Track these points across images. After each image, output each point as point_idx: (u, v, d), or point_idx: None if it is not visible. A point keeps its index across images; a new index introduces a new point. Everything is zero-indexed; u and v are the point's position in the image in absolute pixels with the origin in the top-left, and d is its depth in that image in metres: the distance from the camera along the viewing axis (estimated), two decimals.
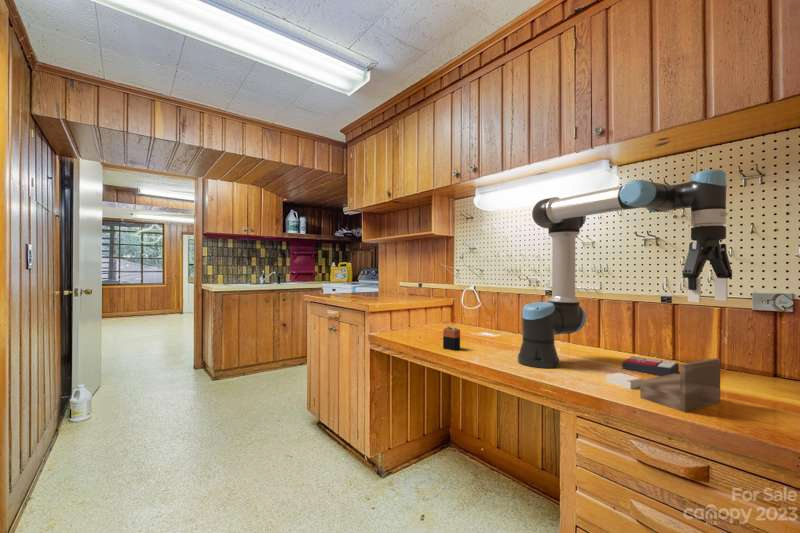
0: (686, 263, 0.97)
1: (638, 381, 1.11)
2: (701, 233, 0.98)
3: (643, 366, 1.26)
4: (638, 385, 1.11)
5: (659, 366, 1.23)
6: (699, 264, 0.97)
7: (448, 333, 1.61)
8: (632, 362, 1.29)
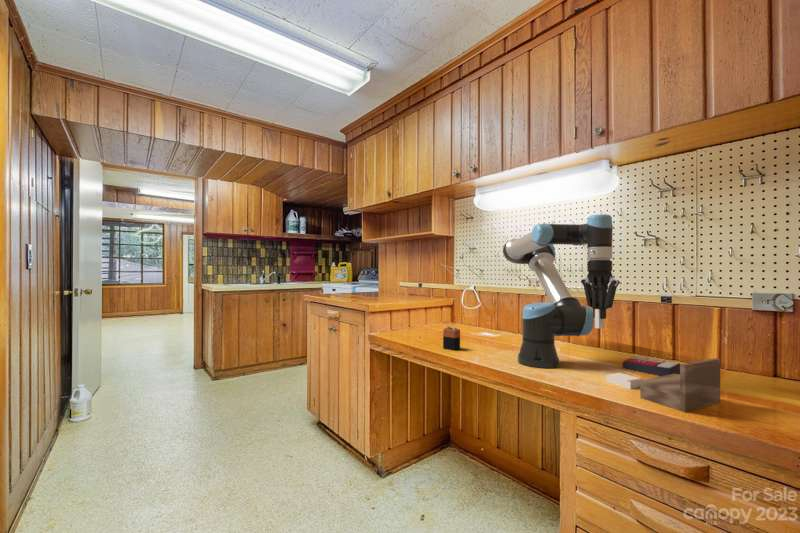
0: None
1: (638, 381, 1.11)
2: None
3: (643, 366, 1.27)
4: (638, 385, 1.11)
5: (658, 366, 1.23)
6: None
7: (448, 333, 1.61)
8: (632, 362, 1.30)
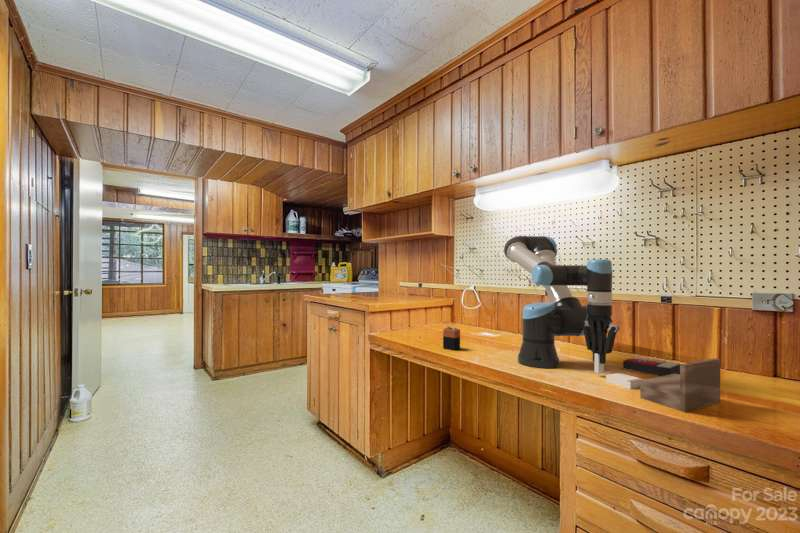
0: None
1: (638, 381, 1.11)
2: None
3: (643, 366, 1.27)
4: (638, 385, 1.11)
5: (658, 366, 1.24)
6: None
7: (448, 333, 1.61)
8: (632, 361, 1.30)
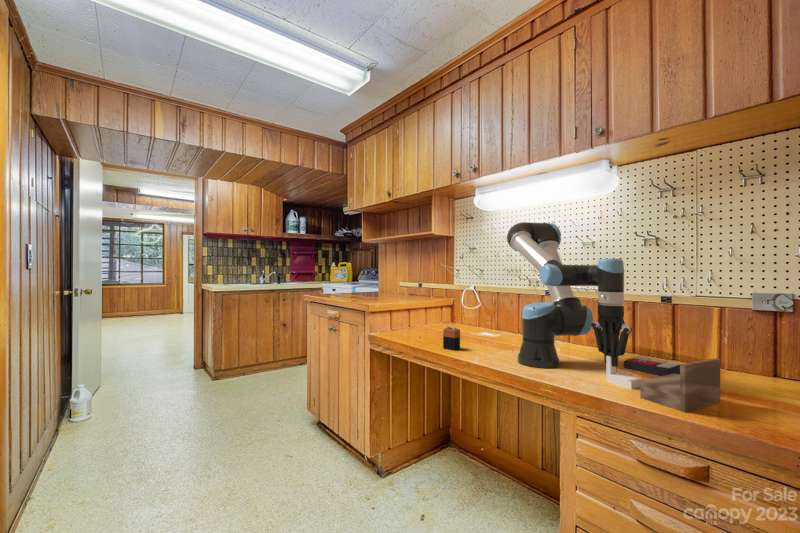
0: None
1: (639, 381, 1.11)
2: None
3: (642, 365, 1.27)
4: (639, 385, 1.11)
5: (658, 366, 1.24)
6: None
7: (448, 333, 1.61)
8: (633, 361, 1.31)
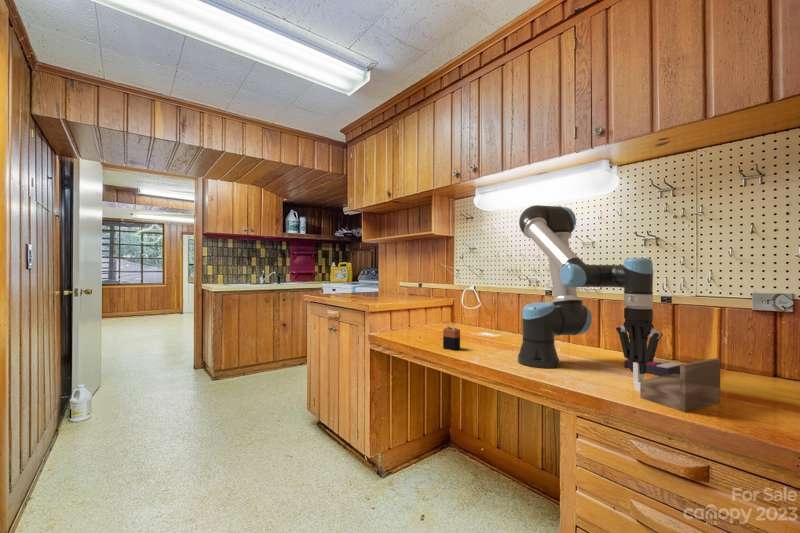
0: None
1: None
2: None
3: None
4: None
5: (657, 366, 1.24)
6: None
7: (448, 333, 1.61)
8: None
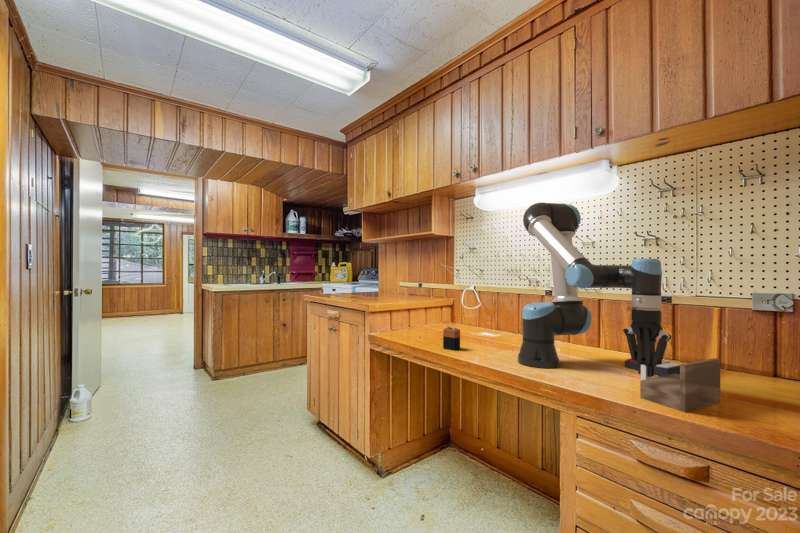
0: None
1: None
2: None
3: None
4: None
5: (657, 366, 1.24)
6: None
7: (448, 333, 1.61)
8: (633, 361, 1.31)
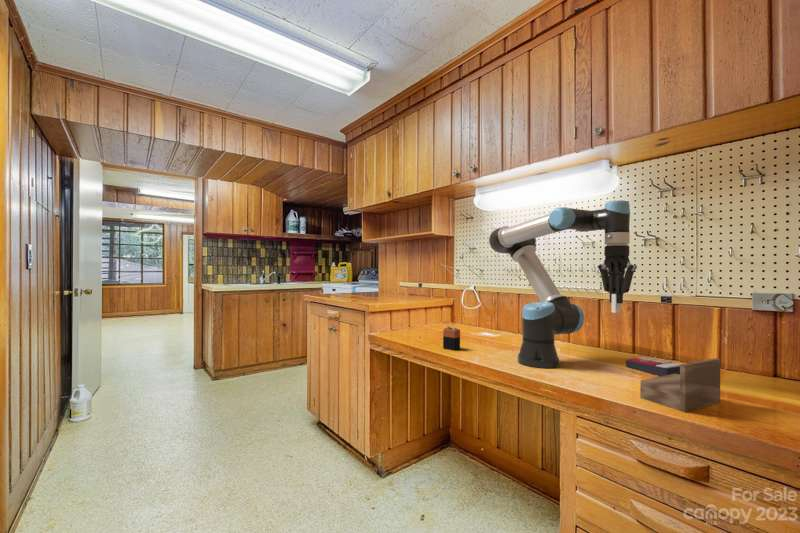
0: None
1: None
2: None
3: (643, 365, 1.28)
4: None
5: (657, 366, 1.24)
6: None
7: (448, 333, 1.61)
8: (634, 361, 1.31)
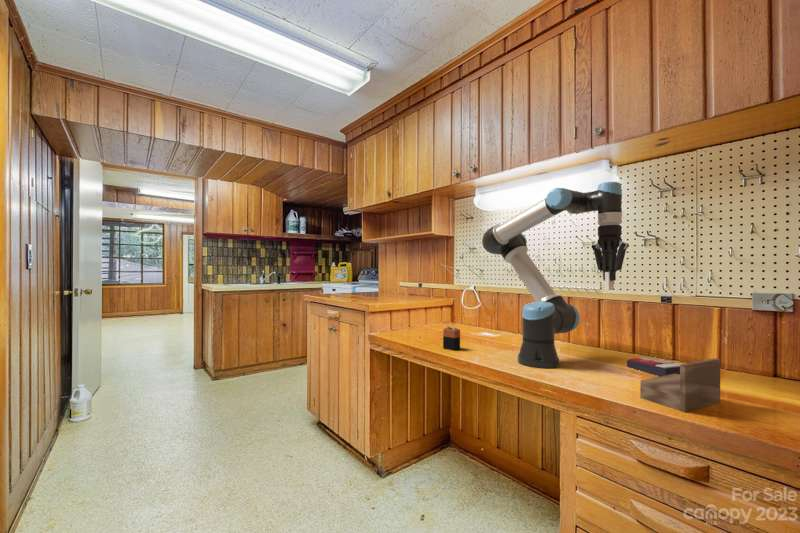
0: None
1: None
2: None
3: (643, 365, 1.28)
4: None
5: (656, 365, 1.24)
6: None
7: (448, 333, 1.61)
8: (635, 360, 1.32)
